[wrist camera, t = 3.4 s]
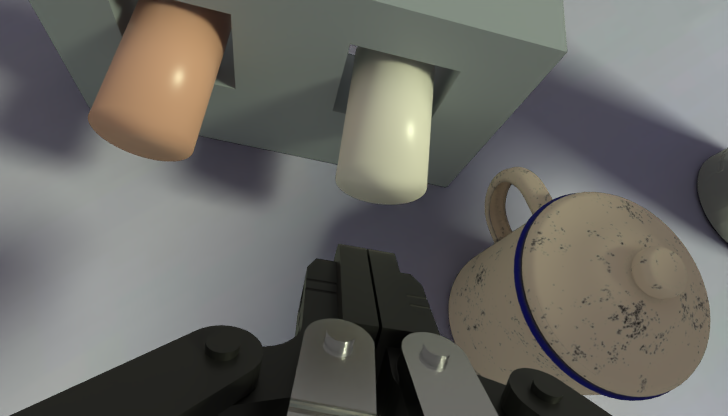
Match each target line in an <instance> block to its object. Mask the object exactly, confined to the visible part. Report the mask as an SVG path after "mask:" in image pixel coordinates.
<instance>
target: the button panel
mask: <svg viewBox="0 0 728 416" xmlns="http://www.w3.org/2000/svg"><path fill="white" fill-rule="evenodd" d="M176 1H180V2H184V3H188V4H192V5H196V6H200V7H204V8H208V9H212V10H216V11H220V12H224V13H228V14H231V24H232V29H231V32H230V35H229V38H228V42H227V45H226V48H225V51H224V54H223V58H222V61H221V64H220V67H219V71H218V74H217V77H216V80H215V83H214V87H213V90H212V93H211V96H210V99H209V103H208V106H207V109H206V112H205V116H204V119H203V122H202V125H201V128H200V132H199V136H204V137H208V138H213V139H218V140H223V141H228V142H232V143H237V144H242V145H247V146H252V147H256V148H261V149H266V150H271V151H276V152H280V153H285V154H290V155H295V156H299V157H304V158H309V159H314V160H319V161H323V162H328V163H333V164H338V159H339V153H340V146H341V140H342V134H343V128H344V121H345V115H346V109H347V103H348V96H349V90H350V84H351V78H352V71H353V65H354V59H355V55H352V54H348V51H349V47H350V44H352V45H356V46H360V47H364V48H368V49H372V50H376V51H380V52H384V53H388V54H392V55H396V56H400V57H404V58H408V59H412V60H416V61H420V62H424V63H428V64H432V65H435V73H434V88H433V103H432V117H431V132H430V147H429V162H428V177H427V183H429V184H434V185H438V186H443V187H447V186H448V185H449V184H450V183H451V182H452V181H453V180H454V179H455V177H456V176H457V175H458V174H459V173H460V172H461V171H462V170H463V168H464V167H465V166H466V165H467V164H468V163H469V162H470V161H471V159H472V158H473V157H474V156H475V155H476V154H477V153H478V152H479V150H480V149H481V148H482V147H483V146H484V145H485V144H486V143H487V142H488V140H489V139H490V138H491V137H492V136H493V135H494V134H495V133H496V131H497V130H498V129H499V128H500V127H501V126H502V125H503V124H504V122H505V121H506V120H507V119H508V118H509V117H510V116H511V115H512V113H513V112H514V111H515V110H516V109H517V108H518V107H519V106H520V105H521V103H522V102H523V101H524V100H525V99H526V98H527V97H528V96H529V94H530V93H531V92H532V91H533V90H534V89H535V88H536V87H537V85H538V84H539V83H540V82H541V81H542V80H543V79H544V78H545V76H546V75H547V74H548V73H549V72H550V71H551V70H552V69H553V67H554V66H555V65H556V64H557V63H558V62H559V61H560V60H561V59H562V57H563V56H564V55H565V54H566V53H567V43H566V31H565V19H564V7H563V0H176ZM29 2H30V3H31V5H32V7H33V9H34V10H35V12H36V14H37V16H38V18H39V19H40V21H41V23H42V25H43V26H44V28H45V30H46V32H47V34H48V35H49V37H50V39H51V41H52V42H53V44H54V46H55V48H56V49H57V51H58V53H59V55H60V57H61V58H62V60H63V62H64V64H65V65H66V67H67V69H68V71H69V73H70V74H71V76H72V78H73V80H74V81H75V83H76V85H77V87H78V89H79V90H80V92H81V94H82V96H83V97H84V99H85V101H86V103H87V104H88V106H89V108H90V110H91V108H92V105H93V103H94V101H95V99H96V96H97V94H98V92H99V89H100V87H101V85H102V82H103V80H104V78H105V76H106V73H107V71H108V69H109V66H110V64H111V62H112V60H113V57H114V55H115V53H116V50H117V48H118V46H119V43H120V41H121V39H122V37H123V34H124V32H125V30H126V27H127V25H128V23H129V21H130V18H131V16H132V14H133V11H134V9H135V7H136V4H137V2H138V0H29Z"/></svg>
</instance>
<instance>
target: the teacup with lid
mask: <svg viewBox="0 0 728 416" xmlns="http://www.w3.org/2000/svg"><path fill="white" fill-rule="evenodd" d="M511 184H513V185H514V186H515V187H517V188H518V189H519V191H520V192H521V193H522V195H523V197H524V198H525V200H526V202H527V204H528V206H529V208H530V210H531V212H532V216H531V217H530V219H529V220H528V222H527V223H526V224H524V225H522V226H521V227H519V228H518V229H516V230H515V231H513V232H512V230H511V228H510V225H509V222H508V219H507V216H506V210H505V202H506V196H507V192H508V190H509V188H510V186H511ZM485 216H486V221H487V225H488V228H489V231H490V233H491V236H492V238H493V241H494V243H495V244H494V245H492V246H491V247H489V248H488V249H486V250H485V251H483V252H482V253H480V254H479V255H477V256H476V257H474V258H473V259H471V260H470V261H469V262H468V263H467V264H466V265H465V266H464V267H463V268H462V270H461V271H460V272H459V274H458V275H457V277H456V279H455V281H454V284H453V286H452V289H451V293H450V298H449V322H450V328H451V332H452V336H453V338H454V341H455V344H456V345H458V346H459V347H460V348H461V349H462V350H463V351H464V352H465V354H466V355H467V357H468V359H469V361H470V363H471V365H472V367H473V368H474V370H475V372H476V374H477V375H480V376H482V377H485V378H488V379H491V380H493V381H496V382H499V383H502V384H504V385H506V384H507V381H508V379H509V376H510V374H511V373H512V372H513V371H514V370H516V369H519V368H532V369H536V370H540V371H543V372H545V373H548V374H550V375H552V376H554V377H556V378H557V379H559V380H560V381H562V382H563V383H565V384H566V385H568V386H569V387H571V388H572V389H574V390H575V391H577V392H578V393H580V394H581V395H604V396H607V397H611V398H615V399H620V400H629V401H635V400H647V399H652V398H655V397H659V396H661V395H663V394H666V393H668V392H669V391H671V390H673V389H674V388H676V387H678V386H679V385H681V384H682V383H683V382H684V381H685V380H687V379H688V378H689V376H690V375H691V374H692V373H693V372H694V371H695V369H696V368H697V366H698V365H699V363H700V362H701V360H702V358H703V356H704V353H705V350H706V347H707V343H708V339H709V332H710V308H709V301H708V297H707V292H706V289H705V286H704V282H703V280H702V277H701V275H700V272H699V270H698V268H697V266H696V264H695V262H694V260H693V258H692V257H691V255H690V253H689V252H688V250H687V249H686V247H685V246H684V245H683V243H682V242H681V241H680V239H679V238H678V237H677V236H676V235H675V234H674V232H673V231H672V230H671V229H670V228H669V227H668V226H667V225H666V224H664V223H663V222H662V221H661V220H660V219H659V218H657V217H656V216H655V215H654V214H652V213H651V212H649V211H648V210H646V209H645V208H643V207H641V206H639V205H638V204H636V203H634V202H632V201H629V200H627V199H624V198H622V197H618V196H615V195H611V194H605V193H598V192H582V193H574V194H568V195H564V196H561V197H558V198H555V199H553V200H552V198H551V196H550V194H549V192H548V190H547V189H546V187H545V185H544V184H543V182H542V181H541V180H540V179H539V178H538V177H537V176H536V175H535V174H534V173H533V172H531V171H529V170H528V169H525V168H522V167H513V168H509V169H505V170H503V171H501V172H500V173H498V174H497V175H496V176H495V177H494V178H493V180H492V181H491V183H490V185H489V187H488V190H487V193H486V198H485Z"/></svg>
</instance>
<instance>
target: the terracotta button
mask: <svg viewBox="0 0 728 416" xmlns="http://www.w3.org/2000/svg"><path fill="white" fill-rule="evenodd" d="M231 29H232V24H231V14H228V13H224V12H220V11H216V10H212V9H208V8H204V7H200V6H196V5H192V4H188V3H184V2H180V1H176V0H138V2H137V4H136V7H135V9H134V11H133V14H132V16H131V18H130V21H129V23H128V25H127V27H126V30H125V32H124V34H123V37H122V39H121V41H120V43H119V46H118V48H117V50H116V53H115V55H114V57H113V60H112V62H111V64H110V66H109V69H108V71H107V73H106V76H105V78H104V80H103V82H102V85H101V87H100V89H99V92H98V94H97V96H96V99H95V101H94V103H93V105H92V108H91V110H90V112H89V115H88V121H89V124H90V126H91V127H92V128H93V130H94V131H95V132H96V133H97V134H98V135H99V136H101V137H102V138H103V139H105V140H106V141H108V142H109V143H111V144H113V145H114V146H116V147H118V148H120V149H122V150H124V151H127V152H129V153H132V154H135V155H138V156H141V157H144V158H148V159H153V160H159V161H180V160H184V159H187V158H188V157H190V156H191V155H192V153H193V151H194V148H195V144H196V141H197V138H198V135H199V132H200V128H201V125H202V122H203V119H204V116H205V112H206V109H207V106H208V103H209V99H210V96H211V93H212V90H213V87H214V83H215V80H216V77H217V74H218V71H219V67H220V64H221V61H222V58H223V54H224V51H225V48H226V45H227V42H228V38H229V35H230V32H231Z"/></svg>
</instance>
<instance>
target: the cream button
mask: <svg viewBox="0 0 728 416" xmlns="http://www.w3.org/2000/svg"><path fill="white" fill-rule="evenodd" d="M434 73H435V65H432V64H428V63H424V62H420V61H416V60H412V59H408V58H404V57H400V56H396V55H392V54H388V53H384V52H380V51H376V50H372V49H368V48H364V47H360V46H358V47H357V49H356V53H355V59H354V65H353V71H352V78H351V84H350V90H349V96H348V103H347V109H346V115H345V121H344V128H343V134H342V140H341V146H340V153H339V159H338V165H337V172H336V178H335V180H336V184H337V186H338V187H339V188H340V189H341V190H342V191H343V192H344V193H346V194H347V195H349V196H351V197H353V198H356V199H358V200H361V201H365V202H369V203H375V204H384V205H395V204H404V203H408V202H412V201H414V200H417V199H419V198H420V197H422V196H423V195H424V194H425V192H426V189H427V177H428V162H429V147H430V132H431V117H432V103H433V88H434Z"/></svg>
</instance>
